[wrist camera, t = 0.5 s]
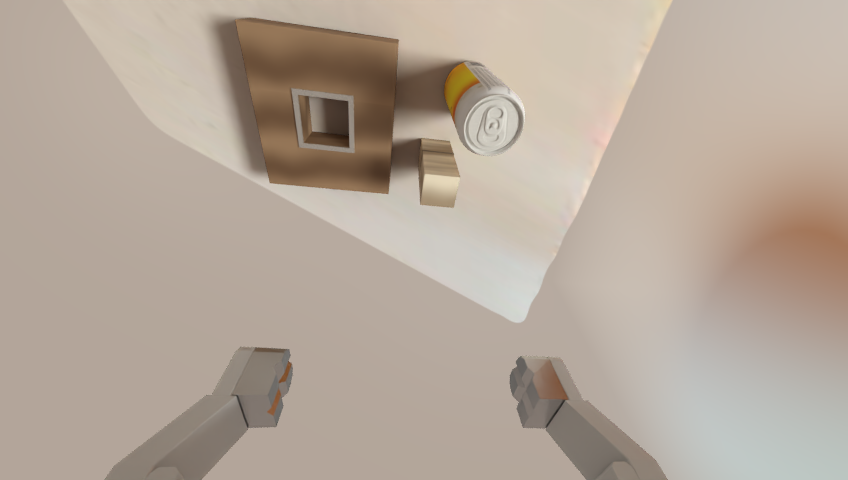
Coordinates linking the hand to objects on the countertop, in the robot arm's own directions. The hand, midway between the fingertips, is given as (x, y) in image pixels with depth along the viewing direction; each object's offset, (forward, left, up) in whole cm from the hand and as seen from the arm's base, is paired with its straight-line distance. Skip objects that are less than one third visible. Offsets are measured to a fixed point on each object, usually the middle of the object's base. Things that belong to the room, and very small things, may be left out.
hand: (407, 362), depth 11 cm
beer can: (-2, +7, -36) cm, 37 cm away
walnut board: (+3, -10, -36) cm, 37 cm away
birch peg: (+7, +4, -36) cm, 36 cm away
